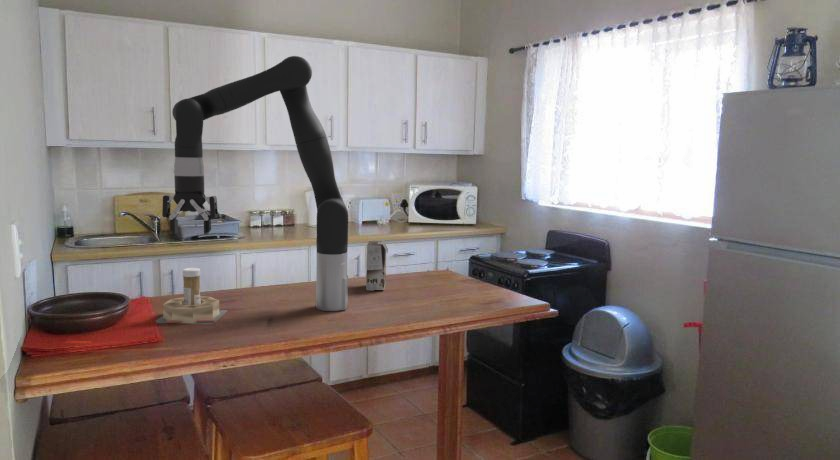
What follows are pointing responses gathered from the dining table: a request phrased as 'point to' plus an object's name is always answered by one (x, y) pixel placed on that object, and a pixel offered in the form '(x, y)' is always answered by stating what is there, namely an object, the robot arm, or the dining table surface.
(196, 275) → the sprinkles bottle
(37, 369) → the dining table surface
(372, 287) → the coffee box
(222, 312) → the mat
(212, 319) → the reddish pink rod
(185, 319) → the octagonal faceted ring
